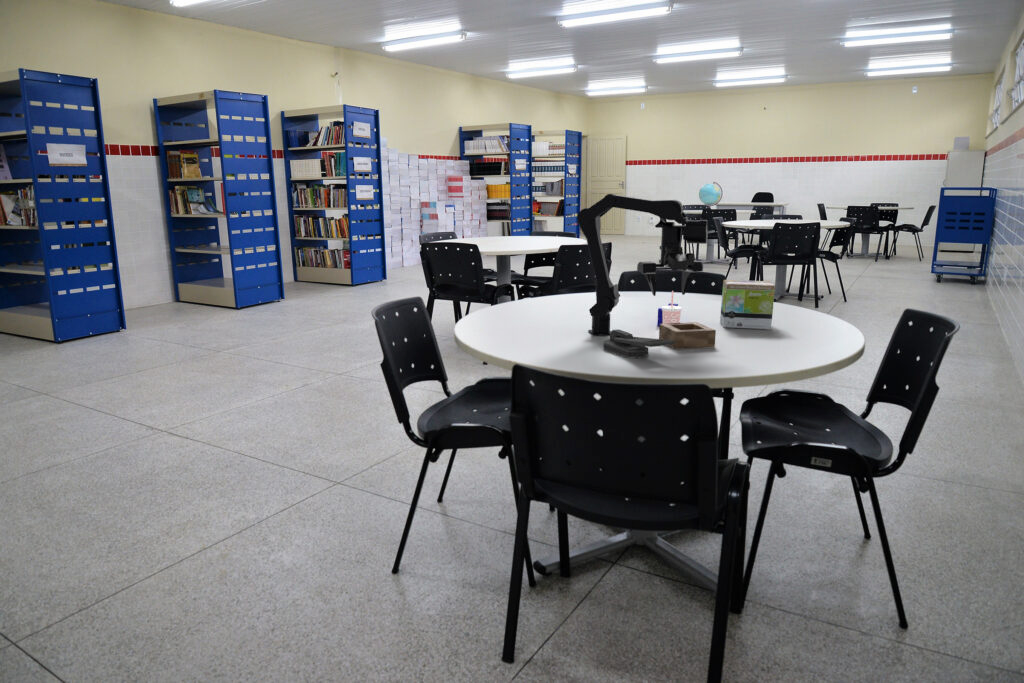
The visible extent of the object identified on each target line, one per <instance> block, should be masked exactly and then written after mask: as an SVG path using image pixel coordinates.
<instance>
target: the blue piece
mask: <svg viewBox="0 0 1024 683" xmlns="http://www.w3.org/2000/svg"><path fill="white" fill-rule="evenodd" d="M667 306H671V302H670V303H668V304H667ZM673 306H679V304H678V303H673ZM656 323H657V324H656V326H657V327H660V324H663V310H662V307H658V309H657V321H656Z"/></svg>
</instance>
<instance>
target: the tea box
mask: <svg viewBox="0 0 1024 683" xmlns="http://www.w3.org/2000/svg"><path fill="white" fill-rule="evenodd" d="M775 290H776V285H775V284H773V283H772V282H771V281H769V280H768V281H767V280H739V279H738V280H737V279H723V283H722V292H721V306H720V317H719V319H720V320H719V322H720V323H721V325H722V328H724V329H725V328H739V329H751V330H754V329H755V330H756V329H757V330H767V331H768V330H769V331H770V330H771V329H772V323H773V322H772V321H773V314H774V313H773V312H774V304H775V303H774V301H775V292H776V291H775Z"/></svg>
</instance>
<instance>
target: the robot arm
mask: <svg viewBox="0 0 1024 683" xmlns="http://www.w3.org/2000/svg"><path fill="white" fill-rule="evenodd" d="M613 208H616V209H623V210H629V211H635V212H640V213H641V212H642V213H646V214H647V213H649V214H651V215H654V216H657V217H659V218H661V219H660V220H659V221H658V222H657V223H656V224H655V225H654V227H655V228H657V229H659V228H660V229H661V239H660V240H661V241H660V243H661V244H660V245H659V250H660V259H659V260H658V263H656V262H653V261H639V262H638V263H637V265H636V266H637V267H636V271H637V272H640V273H641V275H644V277H645V278H646V281H647V283H648V285H649V288H650V291H651V294H652V296H653V297H656V295H657V282H656V281H657V279H656V278H657V276H658V273H656V271H662V270H663V271H667V270H668V271H670V270H671V271H673V272H676V271H681V294H682V295H683V296H685V294H686V292H687V290H688V287H689V285H690V283H691V281H692V279H693V278H694V277H695V276H696V275H699V272H703V271H704V264H703V262H702V261H701V260H700V261H699V260H695V255H694V253H693V252H689V253H688V252H687V253H684V249H683V247H682V240H684V241H686V243H687V244H694V245H695V244H697V245H698V244H699V245H701V244H703V245H704V244H705V245H707V243H708V235H709V234H708V233H709V230H708V220H707V219H701V220H690V219H689V216H688V217H687V215H686V213H685V212H684V205H683V204H682V202H681V201H680V200H678V199H659V200H658V199H657V200H653V199H652V200H651V199H646V198H638V197H633V196H626V195H619V194H618V195H617V194H616V193H607V194H606V195H605V196H604V197H603V198H602V199H599V200H598V201H597V202H595V203H594V204H593V205H591V206H590V207H586V208H582V209H581V210H580V211H579V212H578V213H577V217H576V218H577V219H576V221H577V223H578V225H579V229H580V230H581V233H582V234H583V235H584V237H585V239H586V242H587V246H588V252H589V255H590V259H591V264H592V268H593V272H594V277H595V278H594V279H595V281H596V289H595V291H596V292H595V299H596V300H595V301H596V302H595V304H593V306H591V307H590V308H589V309H588V311H589V315H590V317H591V329H588V330H587V331H588V333H590V334H591V335H593V336H607V335H608V336H610V334H611V331H612V330H611V312H612V311H613V309H614V308H616V307H617V305H618V304H619V301H620V297H621V294H620V293H619V292H620V291H619V285H618V283H615V284H614V283H613V282H612V280H611V278H610V273H609V269H608V265H607V261H606V260H607V259H606V255H605V252H604V246H603V243H602V238H601V228H602V227H601V226H602V225H601V224H602V222H601V221H602V220H601V218H602V217H603V216H605V215H606V214H607V213H608V212H610V210H611V209H613ZM664 219H665V220H668V221H665V220H664ZM675 222H676V223H677V225H676V224H675ZM678 224H679V225H678ZM682 230H683V232H682Z"/></svg>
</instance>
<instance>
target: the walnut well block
mask: <svg viewBox="0 0 1024 683" xmlns="http://www.w3.org/2000/svg"><path fill="white" fill-rule="evenodd" d="M658 327H659V328H658V329H659V330H658V332H659V333H658V339H664V340H674V343H675V344H672V345H668V346H669V347H671V348H673V349H674V350H686V349H703V348H704V349H706V348H715V347H716V334H717V330H716V329H714V328H712V327H709V326H707V325H704V324H703V323H700V322H698V321H693V322H691V321H690V322H689V321H687V322H680V323H667V324H660V326H658Z"/></svg>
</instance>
